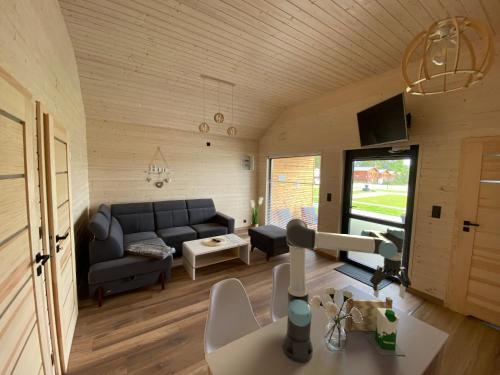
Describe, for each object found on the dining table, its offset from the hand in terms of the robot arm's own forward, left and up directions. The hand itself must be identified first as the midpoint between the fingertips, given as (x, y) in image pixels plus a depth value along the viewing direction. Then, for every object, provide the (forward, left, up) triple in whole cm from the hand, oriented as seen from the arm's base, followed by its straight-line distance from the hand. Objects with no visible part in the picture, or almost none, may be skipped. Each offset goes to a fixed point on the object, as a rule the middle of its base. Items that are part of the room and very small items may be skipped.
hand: (388, 296), depth 113 cm
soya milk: (0, 0, -27) cm, 27 cm away
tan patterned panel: (-4, +10, -27) cm, 29 cm away
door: (-4, +9, -27) cm, 29 cm away
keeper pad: (0, 0, -27) cm, 27 cm away
